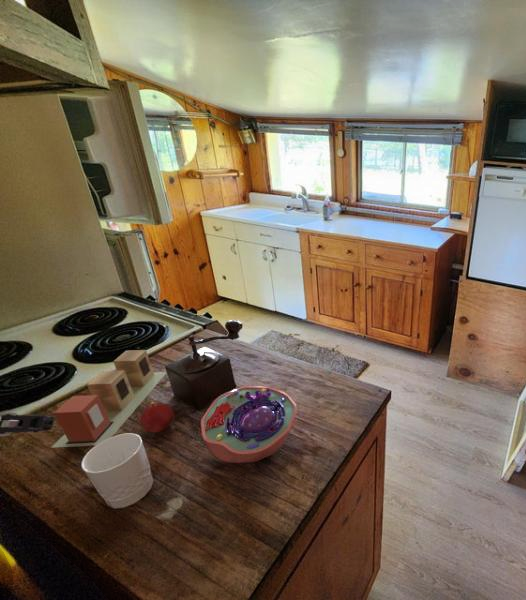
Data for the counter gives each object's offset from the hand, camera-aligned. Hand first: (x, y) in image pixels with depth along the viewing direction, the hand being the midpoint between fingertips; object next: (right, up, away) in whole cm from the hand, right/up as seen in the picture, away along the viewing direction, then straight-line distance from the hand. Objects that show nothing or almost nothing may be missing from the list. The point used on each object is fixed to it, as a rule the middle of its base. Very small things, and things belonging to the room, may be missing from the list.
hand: (23, 424), depth 55 cm
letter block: (-2, -7, +14) cm, 16 cm away
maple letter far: (-3, 0, +29) cm, 29 cm away
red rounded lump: (+12, -7, +16) cm, 21 cm away
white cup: (+16, -13, +3) cm, 21 cm away
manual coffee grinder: (+17, -1, +29) cm, 34 cm away
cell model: (+34, -9, +14) cm, 38 cm away
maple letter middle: (-2, -3, +21) cm, 22 cm away
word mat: (-2, -4, +22) cm, 22 cm away
